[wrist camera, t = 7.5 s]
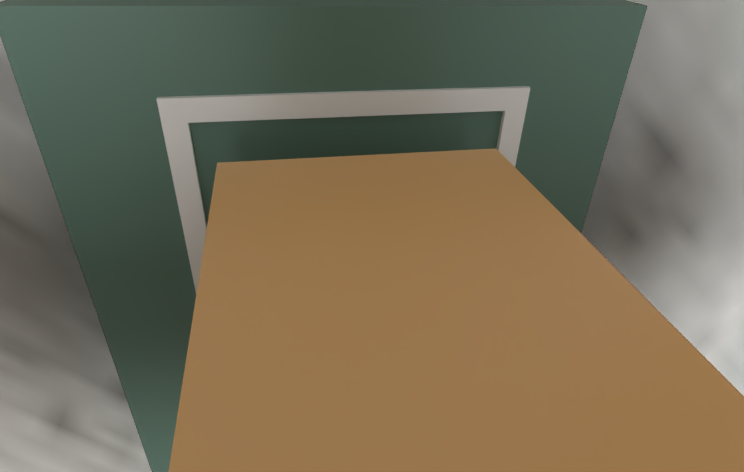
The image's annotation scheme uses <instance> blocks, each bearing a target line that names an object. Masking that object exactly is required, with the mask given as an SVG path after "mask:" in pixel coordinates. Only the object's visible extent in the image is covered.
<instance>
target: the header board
mask: <svg viewBox="0 0 744 472" xmlns="http://www.w3.org/2000/svg"><path fill="white" fill-rule="evenodd" d="M646 9H647V6H646V5H642V4H638V3H634V2H630V1H626V0H5V1H2V2H0V36H1V39H2V42H3V45H4V48H5V50H6V53H7V56H8V59H9V62H10V65H11V68H12V71H13V73H14V76H15V79H16V82H17V85H18V88H19V91H20V94H21V96H22V99H23V102H24V105H25V108H26V111H27V114H28V117H29V120H30V122H31V125H32V128H33V131H34V134H35V137H36V140H37V143H38V145H39V148H40V151H41V154H42V157H43V160H44V163H45V166H46V168H47V171H48V174H49V177H50V180H51V183H52V186H53V189H54V191H55V194H56V197H57V200H58V203H59V206H60V209H61V212H62V214H63V217H64V220H65V223H66V226H67V229H68V232H69V235H70V237H71V240H72V243H73V246H74V249H75V252H76V255H77V258H78V260H79V263H80V266H81V269H82V272H83V275H84V278H85V281H86V283H87V286H88V289H89V292H90V295H91V298H92V301H93V304H94V307H95V309H96V312H97V315H98V318H99V321H100V324H101V327H102V330H103V332H104V335H105V338H106V341H107V344H108V347H109V350H110V353H111V355H112V358H113V361H114V364H115V367H116V370H117V373H118V376H119V378H120V381H121V384H122V387H123V390H124V393H125V396H126V399H127V401H128V404H129V407H130V410H131V413H132V416H133V419H134V422H135V424H136V427H137V430H138V433H139V436H140V439H141V442H142V445H143V447H144V450H145V453H146V456H147V459H148V462H149V465H150V468H151V470H152V472H168V471H169V465H170V459H171V452H172V446H173V440H174V433H175V427H176V421H177V414H178V408H179V402H180V395H181V389H182V383H183V376H184V370H185V364H186V357H187V351H188V344H189V338H190V332H191V325H192V319H193V313H194V306H195V300H196V294H197V287H198V281H199V275H200V268H201V262H202V256H203V249H204V243H205V237H206V230H207V224H208V218H209V211H210V205H211V199H212V192H213V186H214V179H215V173H216V167H217V163H220V162H239V161H259V160H279V159H298V158H318V157H338V156H357V155H377V154H397V153H416V152H436V151H456V150H475V149H495V148H496V149H497V150H498V151H499V152H500V153H501V154H502V155H503V156H504V157H505V158H506V159H507V160H508V161H509V162H510V163H511V164H512V165H513V166H514V167H515V168H516V169H517V170H518V171H519V172H520V173H521V174H522V175H523V176H524V177H525V178H526V179H527V180H528V181H529V182H530V183H531V184H532V185H533V186H534V187H535V188H536V189H537V190H538V191H539V192H540V193H541V194H542V195H543V196H544V197H545V198H546V199H547V200H548V201H549V202H550V203H551V204H552V205H553V206H554V207H555V208H556V209H557V210H558V211H559V212H560V213H561V214H562V215H563V216H564V217H565V218H566V219H567V220H568V221H569V222H570V223H571V224H572V225H573V226H574V227H575V228H576V229H577V230H578V231H579V232H580V233H581V230H582V227H583V223H584V220H585V217H586V213H587V210H588V206H589V203H590V200H591V196H592V193H593V189H594V186H595V183H596V179H597V176H598V172H599V169H600V166H601V162H602V159H603V155H604V152H605V149H606V145H607V142H608V138H609V135H610V131H611V128H612V125H613V121H614V118H615V114H616V111H617V108H618V104H619V101H620V97H621V94H622V91H623V87H624V84H625V80H626V77H627V74H628V70H629V67H630V63H631V60H632V56H633V53H634V50H635V46H636V43H637V39H638V36H639V33H640V29H641V26H642V22H643V19H644V16H645V12H646Z"/></svg>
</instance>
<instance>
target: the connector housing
mask: <svg viewBox="0 0 744 472" xmlns="http://www.w3.org/2000/svg"><path fill="white" fill-rule="evenodd" d="M168 472H744V396H743V395H742V394H741V393H740V392H739V391H738V390H737V389H736V388H735V387H734V386H733V385H732V384H731V383H730V382H729V381H728V380H727V379H726V378H725V377H724V376H723V375H722V374H721V373H720V372H719V371H718V370H717V369H716V368H715V367H714V366H713V365H712V364H711V363H710V362H709V361H708V360H707V359H706V358H705V357H704V356H703V355H702V354H701V353H700V352H699V351H698V350H697V349H696V348H695V347H694V346H693V345H692V344H691V343H690V342H689V341H688V340H687V339H686V338H685V337H684V336H683V335H682V334H681V333H680V332H679V331H678V330H677V329H676V328H675V327H674V326H673V325H672V324H671V323H670V322H669V321H668V320H667V319H666V318H665V317H664V316H663V315H662V314H661V313H660V312H659V311H658V310H657V309H656V308H655V307H654V306H653V305H652V304H651V303H650V302H649V301H648V300H647V299H646V298H645V297H644V296H643V295H642V294H641V293H640V292H639V291H638V290H637V289H636V288H635V287H634V286H633V285H632V284H631V283H630V282H629V281H628V280H627V279H626V278H625V277H624V276H623V275H622V274H621V273H620V272H619V271H618V270H617V269H616V268H615V267H614V266H613V265H612V264H611V263H610V262H609V261H608V260H607V259H606V258H605V257H604V256H603V255H602V254H601V253H600V252H599V251H598V250H597V249H596V248H595V247H594V246H593V245H592V244H591V243H590V242H589V241H588V240H587V239H586V238H585V237H584V236H583V235H582V234H581V233H580V232H579V231H578V230H577V229H576V228H575V227H574V226H573V225H572V224H571V223H570V222H569V221H568V220H567V219H566V218H565V217H564V216H563V215H562V214H561V213H560V212H559V211H558V210H557V209H556V208H555V207H554V206H553V205H552V204H551V203H550V202H549V201H548V200H547V199H546V198H545V197H544V196H543V195H542V194H541V193H540V192H539V191H538V190H537V189H536V188H535V187H534V186H533V185H532V184H531V183H530V182H529V181H528V180H527V179H526V178H525V177H524V176H523V175H522V174H521V173H520V172H519V171H518V170H517V169H516V168H515V167H514V166H513V165H512V164H511V163H510V162H509V161H508V160H507V159H506V158H505V157H504V156H503V155H502V154H501V153H500V152H499V151H498V150H497V149H496V148H495V149H475V150H456V151H436V152H416V153H397V154H377V155H357V156H338V157H318V158H298V159H279V160H259V161H239V162H220V163H217V167H216V173H215V179H214V186H213V192H212V199H211V205H210V211H209V218H208V224H207V230H206V237H205V243H204V249H203V256H202V262H201V268H200V275H199V281H198V287H197V294H196V300H195V306H194V313H193V319H192V325H191V332H190V338H189V344H188V351H187V357H186V364H185V370H184V376H183V383H182V389H181V395H180V402H179V408H178V414H177V421H176V427H175V433H174V440H173V446H172V452H171V459H170V465H169V471H168Z"/></svg>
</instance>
